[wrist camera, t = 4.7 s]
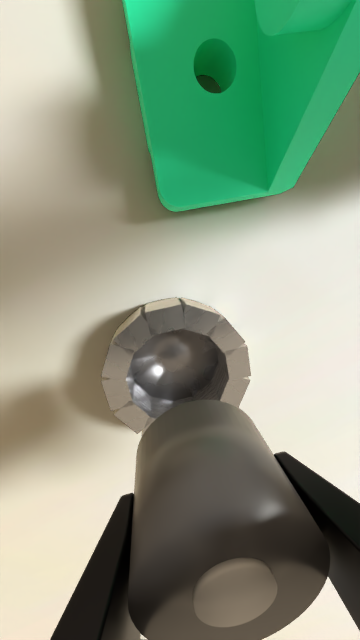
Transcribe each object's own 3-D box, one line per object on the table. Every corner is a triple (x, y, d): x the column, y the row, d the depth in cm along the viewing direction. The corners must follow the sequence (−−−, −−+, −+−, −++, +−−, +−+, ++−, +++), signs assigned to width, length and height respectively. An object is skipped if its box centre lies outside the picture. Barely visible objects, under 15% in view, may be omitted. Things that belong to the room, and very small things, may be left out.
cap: (252, 385, 9) (335, 490, 5) (265, 484, 10) (337, 627, 6) (121, 418, 9) (98, 559, 5) (152, 516, 10) (155, 688, 6)
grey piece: (225, 285, 17) (240, 291, 14) (241, 397, 20) (256, 420, 17) (93, 314, 17) (82, 326, 14) (128, 426, 19) (125, 455, 16)
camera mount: (114, -30, 12) (-17, -1145, 3) (255, -44, 13) (596, -995, 3) (160, 217, 16) (182, 153, 6) (271, 197, 16) (458, 109, 6)
